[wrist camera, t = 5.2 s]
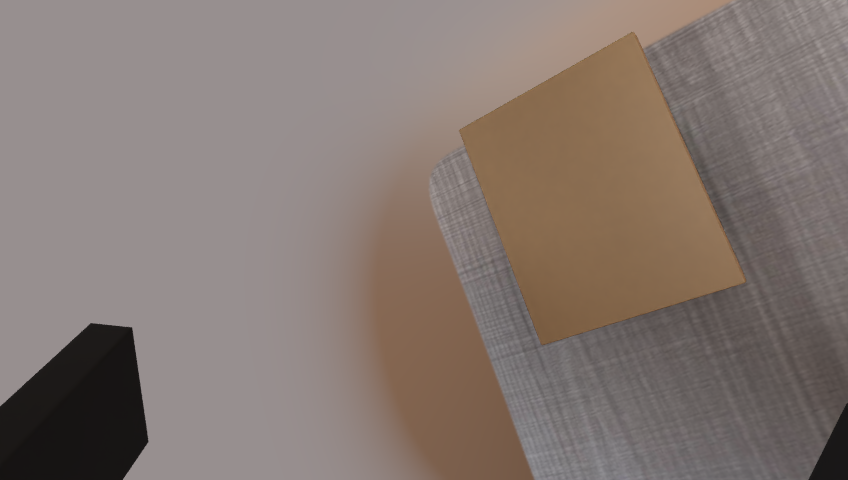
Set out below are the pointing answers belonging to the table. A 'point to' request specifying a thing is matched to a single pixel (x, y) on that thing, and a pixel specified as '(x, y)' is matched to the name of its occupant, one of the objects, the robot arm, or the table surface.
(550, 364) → the table surface
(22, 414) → the robot arm
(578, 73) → the stand
